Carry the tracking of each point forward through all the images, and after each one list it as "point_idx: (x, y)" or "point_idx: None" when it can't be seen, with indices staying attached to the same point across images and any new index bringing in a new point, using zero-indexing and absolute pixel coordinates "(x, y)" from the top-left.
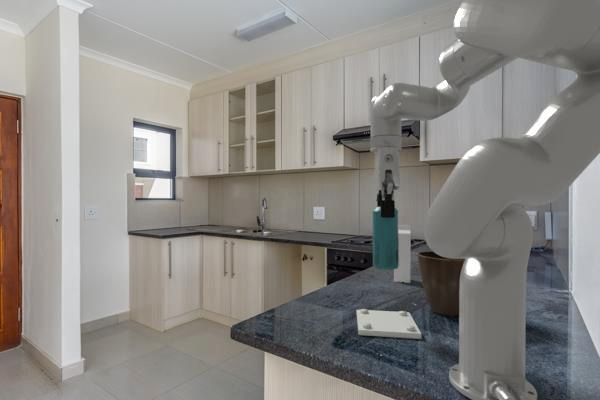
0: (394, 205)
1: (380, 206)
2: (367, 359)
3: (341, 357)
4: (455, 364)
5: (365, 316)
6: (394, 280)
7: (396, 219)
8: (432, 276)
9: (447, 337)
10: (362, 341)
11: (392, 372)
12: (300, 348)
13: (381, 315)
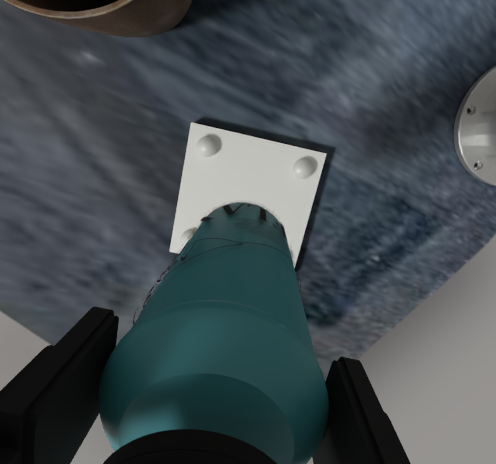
0: (394, 440)
1: (68, 449)
2: (387, 284)
3: (373, 322)
4: (462, 153)
5: None
6: None
7: (293, 309)
8: (162, 14)
9: (323, 87)
10: (319, 274)
11: (434, 259)
12: None
13: (211, 203)
